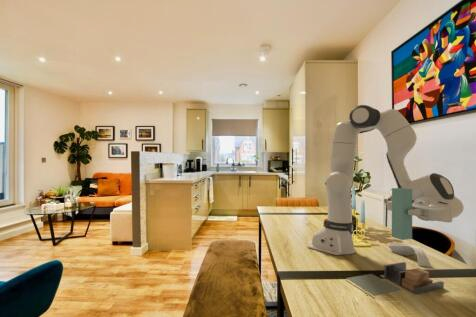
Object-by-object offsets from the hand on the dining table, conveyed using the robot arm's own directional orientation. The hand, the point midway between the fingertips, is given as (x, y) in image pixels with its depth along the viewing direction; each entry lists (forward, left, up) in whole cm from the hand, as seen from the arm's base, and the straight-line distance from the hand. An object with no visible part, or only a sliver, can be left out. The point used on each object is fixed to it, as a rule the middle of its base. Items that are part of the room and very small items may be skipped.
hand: (400, 210), depth 88 cm
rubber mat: (-8, -10, -26) cm, 29 cm away
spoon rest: (+4, +29, -26) cm, 39 cm away
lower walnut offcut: (+5, -4, -25) cm, 25 cm away
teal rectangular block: (0, +1, -10) cm, 10 cm away
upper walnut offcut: (+5, -4, -22) cm, 23 cm away
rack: (+3, -1, -26) cm, 26 cm away
